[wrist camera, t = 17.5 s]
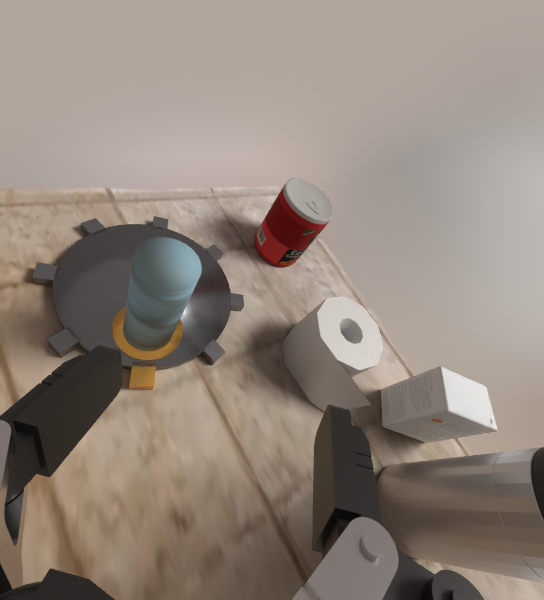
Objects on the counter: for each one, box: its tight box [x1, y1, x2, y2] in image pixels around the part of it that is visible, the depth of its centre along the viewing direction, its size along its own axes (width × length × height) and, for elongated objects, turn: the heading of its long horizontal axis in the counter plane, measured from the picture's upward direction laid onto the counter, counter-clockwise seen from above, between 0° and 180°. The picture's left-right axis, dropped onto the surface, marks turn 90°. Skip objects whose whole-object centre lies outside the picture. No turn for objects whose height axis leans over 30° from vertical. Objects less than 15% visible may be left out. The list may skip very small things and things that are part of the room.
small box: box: [381, 366, 497, 443], centre depth 40 cm, size 8×6×10 cm
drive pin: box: [123, 237, 202, 351], centre depth 28 cm, size 5×5×12 cm
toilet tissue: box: [282, 297, 384, 412], centre depth 38 cm, size 9×13×9 cm
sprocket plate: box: [32, 216, 244, 389], centre depth 35 cm, size 21×22×2 cm
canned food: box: [255, 178, 334, 267], centre depth 45 cm, size 8×8×11 cm
